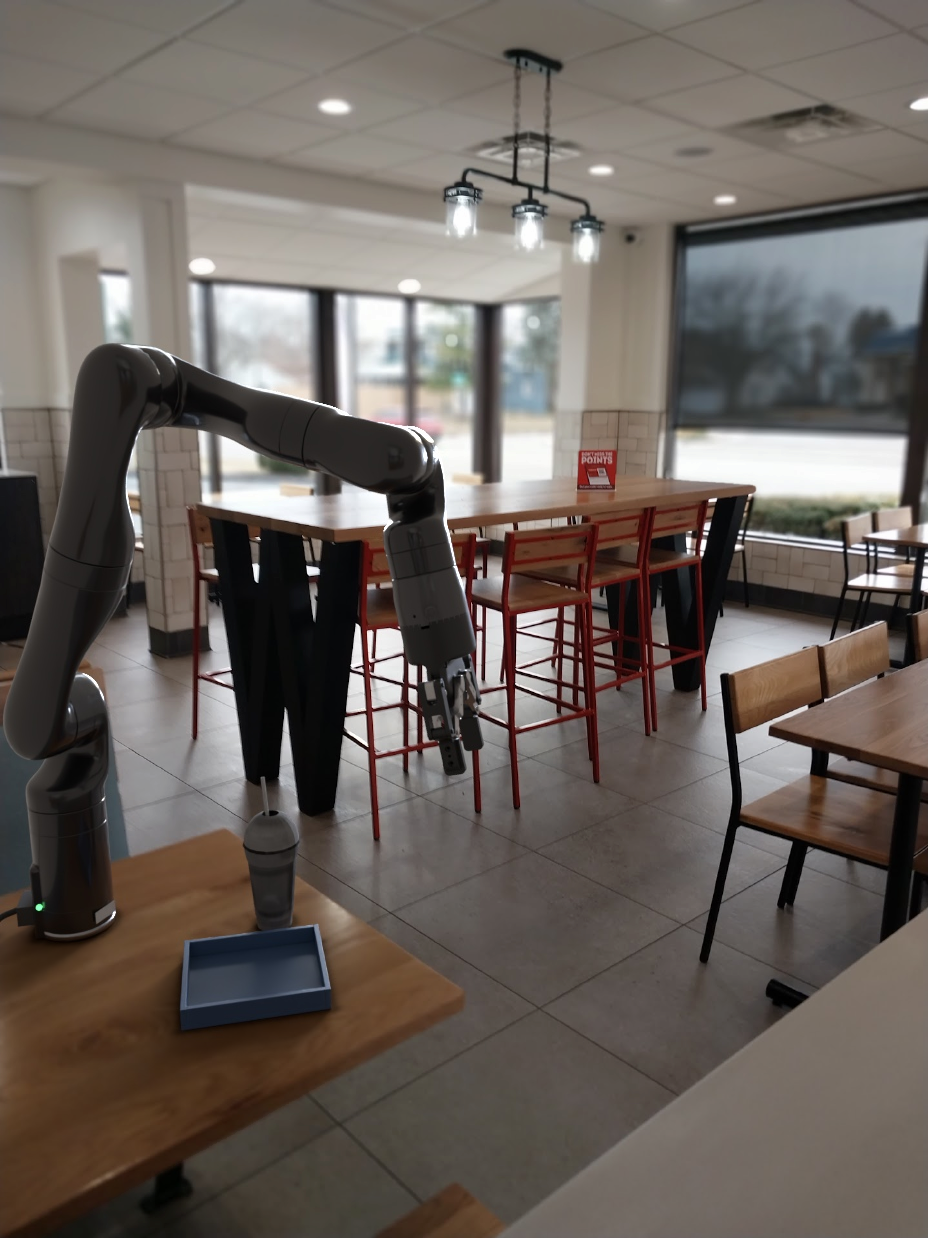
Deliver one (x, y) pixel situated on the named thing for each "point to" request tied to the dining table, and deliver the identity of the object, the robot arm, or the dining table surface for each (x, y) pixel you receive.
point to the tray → (253, 977)
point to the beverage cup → (272, 865)
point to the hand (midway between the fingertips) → (466, 761)
